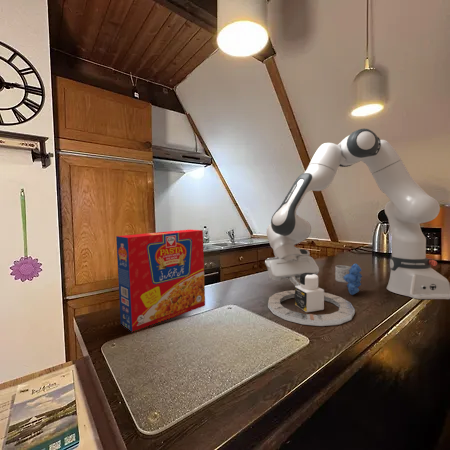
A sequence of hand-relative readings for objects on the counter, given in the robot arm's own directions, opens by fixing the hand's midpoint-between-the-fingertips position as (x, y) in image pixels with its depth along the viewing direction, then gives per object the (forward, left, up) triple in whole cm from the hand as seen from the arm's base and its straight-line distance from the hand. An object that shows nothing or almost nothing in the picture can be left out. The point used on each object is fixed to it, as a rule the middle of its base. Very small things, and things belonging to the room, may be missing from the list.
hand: (301, 287), depth 92 cm
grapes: (-20, -16, -6) cm, 26 cm away
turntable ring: (-2, +3, -6) cm, 7 cm away
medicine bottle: (-2, +3, -6) cm, 7 cm away
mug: (-20, -36, -6) cm, 41 cm away
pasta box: (+45, +18, -6) cm, 49 cm away
